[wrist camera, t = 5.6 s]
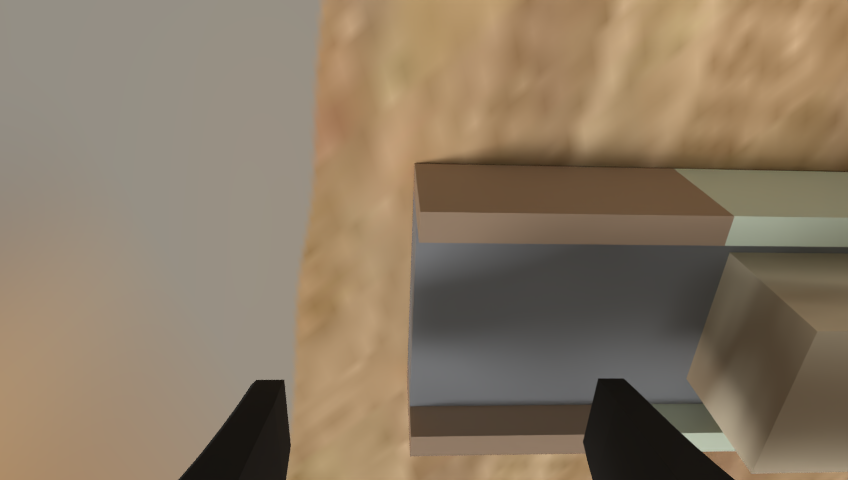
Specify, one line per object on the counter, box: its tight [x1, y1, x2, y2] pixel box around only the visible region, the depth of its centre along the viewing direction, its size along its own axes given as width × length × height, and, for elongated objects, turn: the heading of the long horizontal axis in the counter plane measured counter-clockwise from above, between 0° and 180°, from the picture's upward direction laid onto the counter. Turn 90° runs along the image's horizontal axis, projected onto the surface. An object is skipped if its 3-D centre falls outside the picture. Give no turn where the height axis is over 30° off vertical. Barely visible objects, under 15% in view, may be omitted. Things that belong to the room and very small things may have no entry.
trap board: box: [407, 163, 848, 456], centre depth 17 cm, size 8×20×3 cm, turn 88°
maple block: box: [686, 252, 848, 474], centre depth 15 cm, size 4×4×4 cm
